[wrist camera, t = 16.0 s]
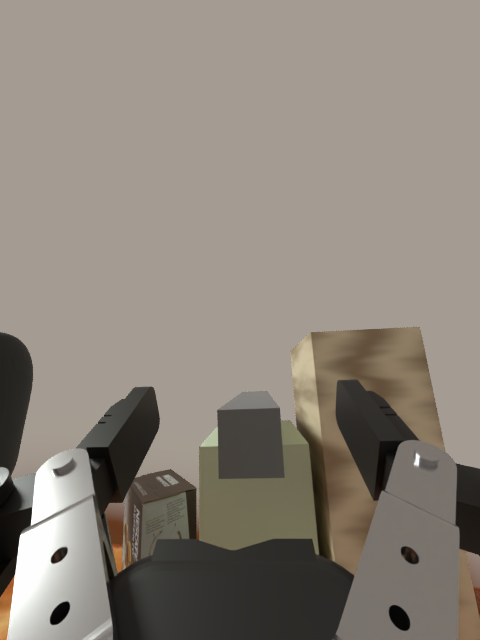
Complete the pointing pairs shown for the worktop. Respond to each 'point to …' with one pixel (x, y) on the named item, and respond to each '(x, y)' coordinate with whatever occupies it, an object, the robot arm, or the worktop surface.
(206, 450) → the step block
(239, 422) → the bar
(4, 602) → the worktop surface
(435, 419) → the brown block
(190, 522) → the coffee box
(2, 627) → the worktop surface
